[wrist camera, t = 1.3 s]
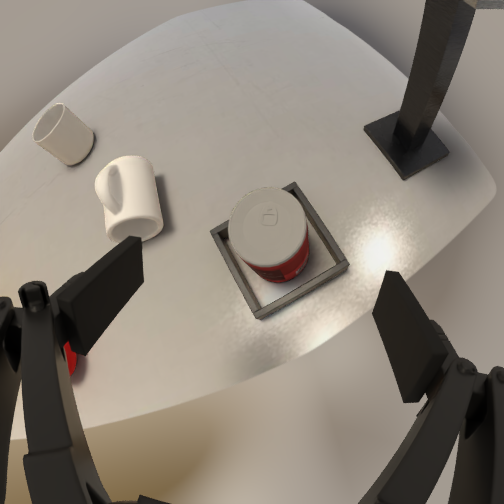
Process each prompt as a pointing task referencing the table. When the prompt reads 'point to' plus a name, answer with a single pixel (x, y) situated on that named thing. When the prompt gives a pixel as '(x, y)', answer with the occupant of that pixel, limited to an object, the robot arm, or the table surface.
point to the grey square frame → (342, 265)
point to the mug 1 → (63, 135)
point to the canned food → (270, 233)
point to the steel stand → (427, 86)
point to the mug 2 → (129, 199)
